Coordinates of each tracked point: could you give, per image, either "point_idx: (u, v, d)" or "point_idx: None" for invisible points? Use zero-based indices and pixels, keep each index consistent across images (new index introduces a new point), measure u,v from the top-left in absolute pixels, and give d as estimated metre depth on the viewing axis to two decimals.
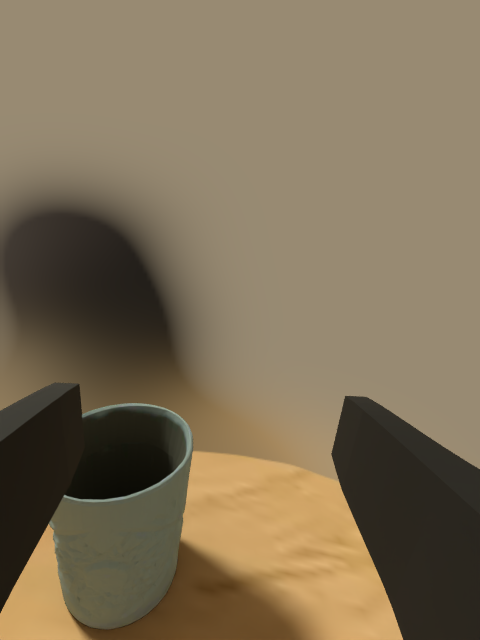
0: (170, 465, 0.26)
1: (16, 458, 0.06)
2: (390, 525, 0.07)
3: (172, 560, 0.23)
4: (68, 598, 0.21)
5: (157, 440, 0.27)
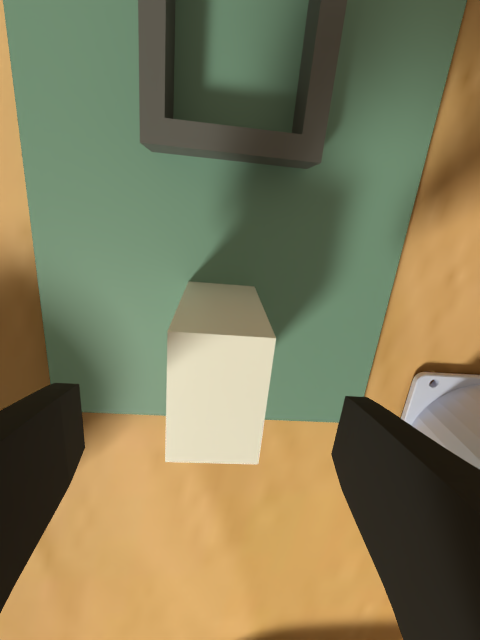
0: None
1: (16, 458, 0.06)
2: (390, 525, 0.07)
3: None
4: None
5: None
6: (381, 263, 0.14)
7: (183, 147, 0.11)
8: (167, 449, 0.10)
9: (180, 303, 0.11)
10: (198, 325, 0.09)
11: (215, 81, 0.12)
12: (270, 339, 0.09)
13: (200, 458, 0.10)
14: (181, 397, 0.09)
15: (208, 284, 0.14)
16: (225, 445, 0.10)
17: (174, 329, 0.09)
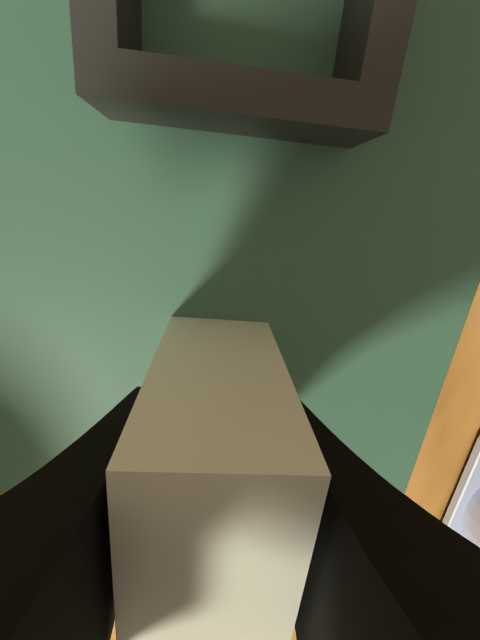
0: None
1: None
2: None
3: None
4: None
5: None
6: (452, 289, 0.10)
7: (153, 103, 0.06)
8: None
9: (150, 370, 0.07)
10: (175, 440, 0.05)
11: (209, 1, 0.07)
12: (319, 477, 0.04)
13: None
14: (143, 577, 0.05)
15: (200, 321, 0.10)
16: None
17: (122, 461, 0.04)
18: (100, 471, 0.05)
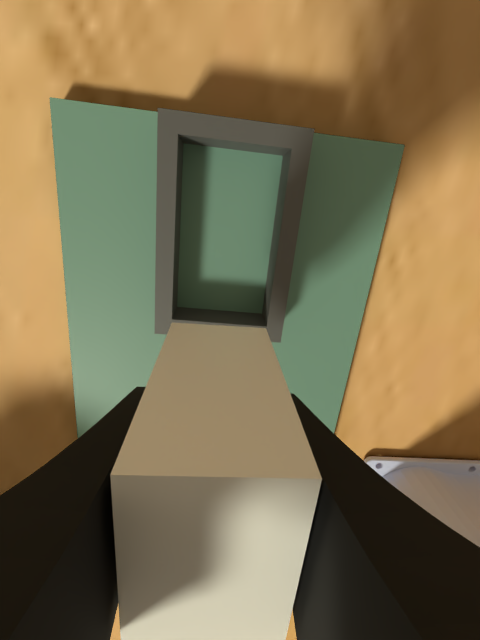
0: None
1: None
2: None
3: None
4: None
5: None
6: (332, 387, 0.19)
7: None
8: None
9: (151, 377, 0.07)
10: (175, 445, 0.05)
11: (207, 276, 0.17)
12: (311, 480, 0.05)
13: None
14: (146, 574, 0.05)
15: (200, 327, 0.10)
16: (225, 636, 0.06)
17: (126, 465, 0.05)
18: (99, 471, 0.05)
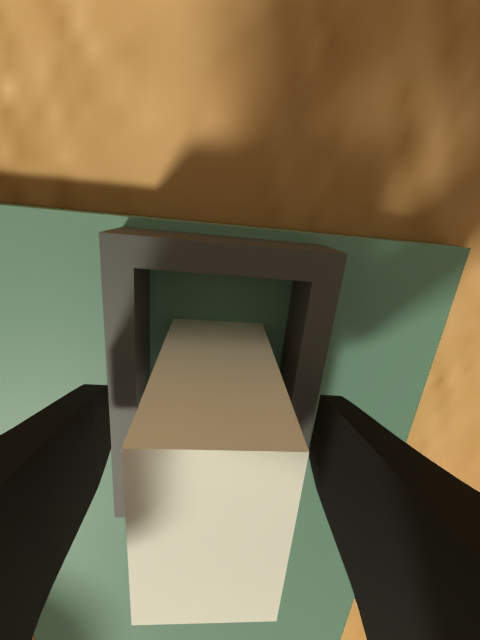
0: None
1: (57, 459, 0.06)
2: (357, 525, 0.06)
3: None
4: None
5: None
6: None
7: None
8: (134, 609, 0.06)
9: (155, 367, 0.07)
10: (178, 425, 0.06)
11: None
12: (299, 453, 0.05)
13: (186, 617, 0.07)
14: (153, 541, 0.06)
15: (200, 323, 0.10)
16: (225, 600, 0.06)
17: (135, 440, 0.05)
18: (7, 469, 0.05)
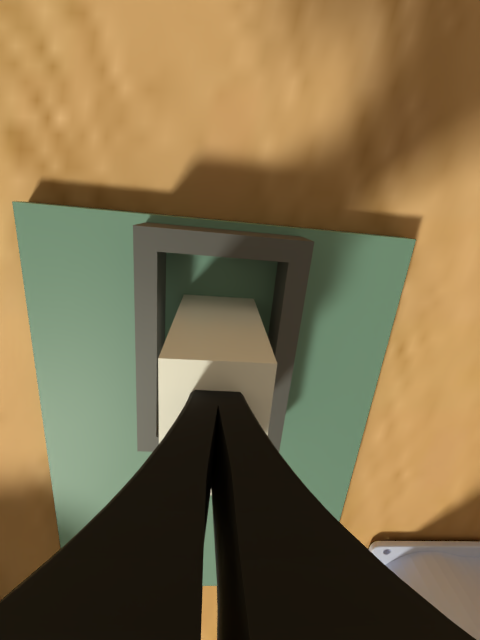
0: None
1: (210, 463, 0.06)
2: (220, 524, 0.06)
3: None
4: None
5: None
6: (336, 481, 0.18)
7: None
8: None
9: (174, 321, 0.10)
10: (192, 349, 0.08)
11: None
12: (271, 364, 0.08)
13: None
14: None
15: (205, 297, 0.13)
16: None
17: (166, 355, 0.08)
18: (198, 473, 0.05)
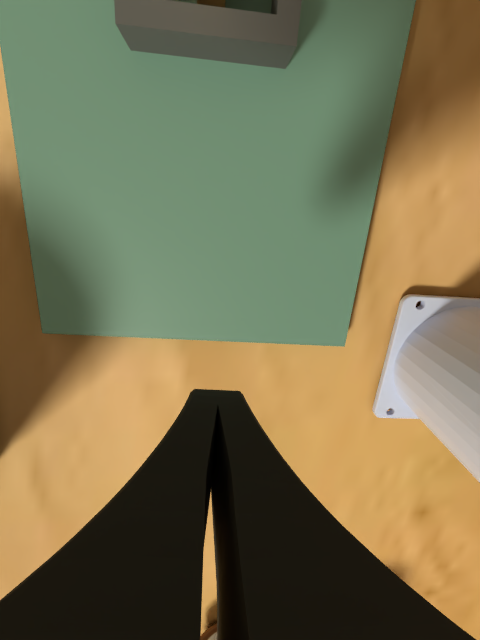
0: None
1: (209, 463, 0.06)
2: (220, 524, 0.06)
3: None
4: None
5: None
6: (363, 172, 0.15)
7: (159, 29, 0.11)
8: None
9: None
10: None
11: None
12: None
13: None
14: None
15: None
16: None
17: None
18: (198, 473, 0.05)
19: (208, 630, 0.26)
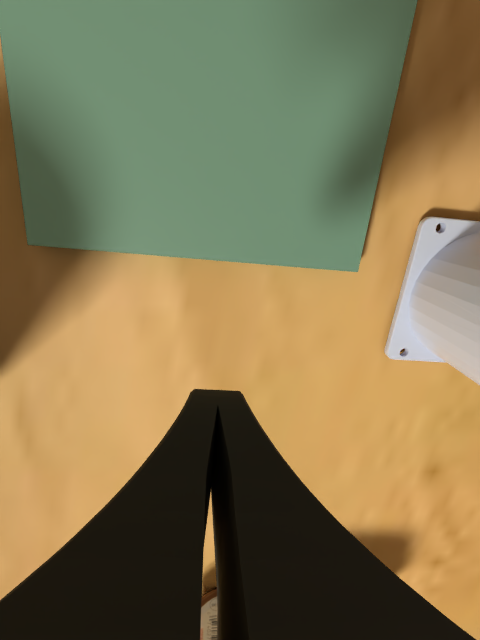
0: None
1: (209, 463, 0.06)
2: (220, 524, 0.06)
3: None
4: None
5: None
6: (385, 62, 0.13)
7: None
8: None
9: None
10: None
11: None
12: None
13: None
14: None
15: None
16: None
17: None
18: (198, 473, 0.05)
19: (203, 597, 0.25)
